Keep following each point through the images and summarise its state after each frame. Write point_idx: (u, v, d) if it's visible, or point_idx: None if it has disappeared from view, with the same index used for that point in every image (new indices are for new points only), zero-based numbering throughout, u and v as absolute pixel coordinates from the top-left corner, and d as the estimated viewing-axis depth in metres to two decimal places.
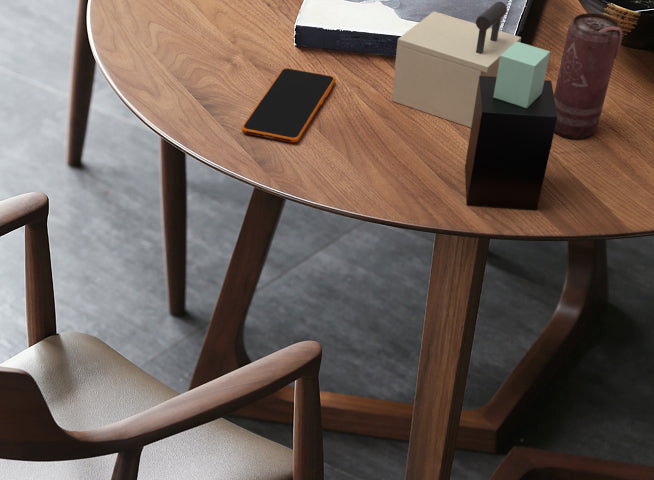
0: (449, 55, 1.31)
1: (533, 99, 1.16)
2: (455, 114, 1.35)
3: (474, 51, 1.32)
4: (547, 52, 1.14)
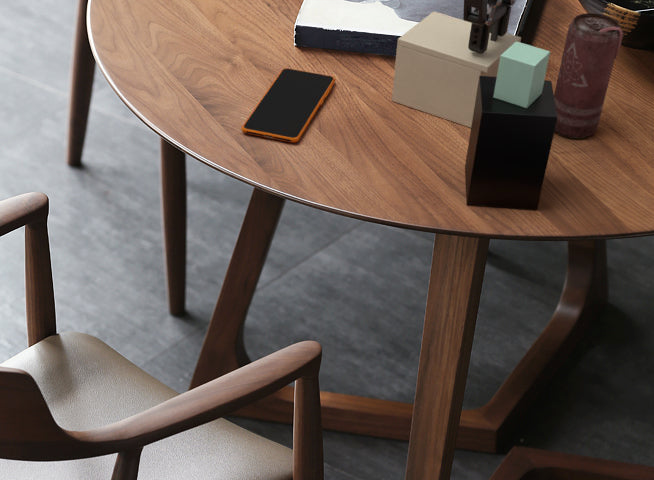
0: (449, 55, 1.31)
1: (533, 99, 1.16)
2: (455, 114, 1.35)
3: None
4: (547, 52, 1.14)
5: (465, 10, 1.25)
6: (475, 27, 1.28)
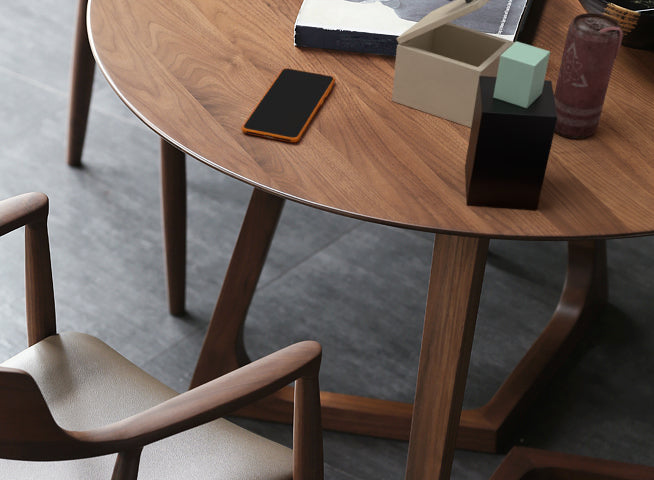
0: (441, 19, 1.29)
1: (533, 99, 1.16)
2: (455, 114, 1.35)
3: (465, 4, 1.29)
4: (547, 52, 1.14)
5: None
6: None
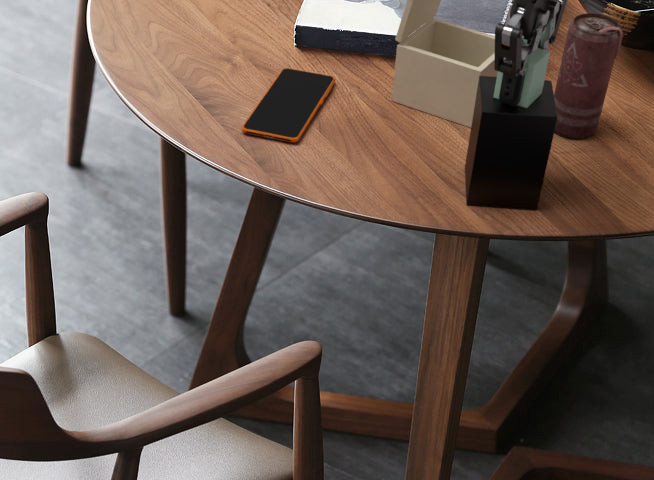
0: None
1: (533, 99, 1.16)
2: (455, 114, 1.35)
3: None
4: (547, 52, 1.14)
5: (496, 60, 1.10)
6: (508, 77, 1.13)
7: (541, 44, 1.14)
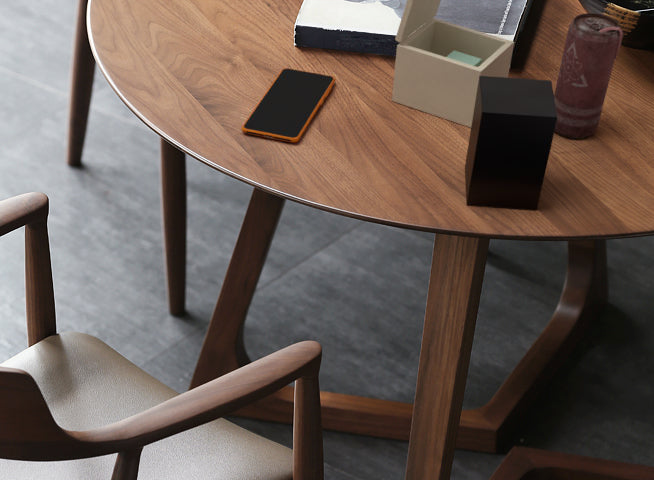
0: None
1: None
2: (455, 114, 1.35)
3: None
4: (479, 59, 1.36)
5: None
6: None
7: None
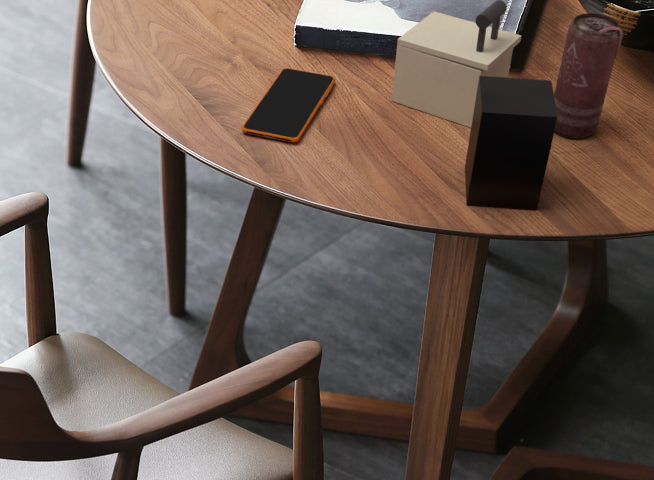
0: (449, 54, 1.31)
1: None
2: (455, 114, 1.35)
3: (474, 50, 1.32)
4: None
5: None
6: None
7: None
